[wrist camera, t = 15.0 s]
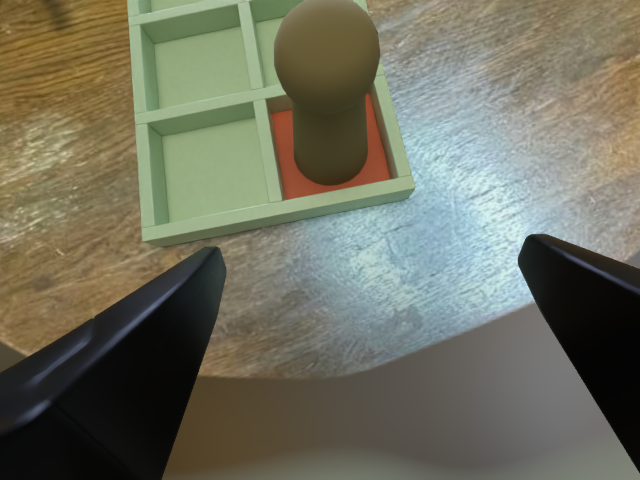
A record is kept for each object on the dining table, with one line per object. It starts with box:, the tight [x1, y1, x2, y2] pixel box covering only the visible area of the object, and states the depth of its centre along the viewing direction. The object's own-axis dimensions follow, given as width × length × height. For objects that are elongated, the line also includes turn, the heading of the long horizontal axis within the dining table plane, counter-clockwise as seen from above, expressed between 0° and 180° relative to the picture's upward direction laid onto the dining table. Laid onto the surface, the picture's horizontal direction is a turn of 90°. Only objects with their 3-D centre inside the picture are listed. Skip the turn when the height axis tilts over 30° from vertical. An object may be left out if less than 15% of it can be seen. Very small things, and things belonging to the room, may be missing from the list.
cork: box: [274, 0, 380, 186], centre depth 18 cm, size 6×6×11 cm
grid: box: [127, 0, 415, 247], centre depth 26 cm, size 39×20×2 cm, turn 10°
